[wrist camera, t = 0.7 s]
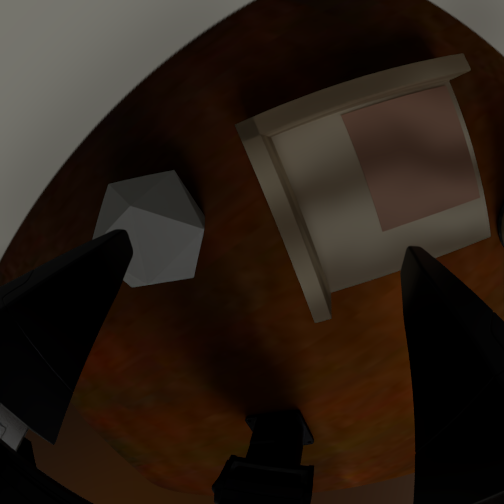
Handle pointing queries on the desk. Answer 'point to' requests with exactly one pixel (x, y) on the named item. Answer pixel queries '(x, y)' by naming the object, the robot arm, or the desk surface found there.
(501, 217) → the pill bottle
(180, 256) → the grey polyhedron
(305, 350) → the desk surface
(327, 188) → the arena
